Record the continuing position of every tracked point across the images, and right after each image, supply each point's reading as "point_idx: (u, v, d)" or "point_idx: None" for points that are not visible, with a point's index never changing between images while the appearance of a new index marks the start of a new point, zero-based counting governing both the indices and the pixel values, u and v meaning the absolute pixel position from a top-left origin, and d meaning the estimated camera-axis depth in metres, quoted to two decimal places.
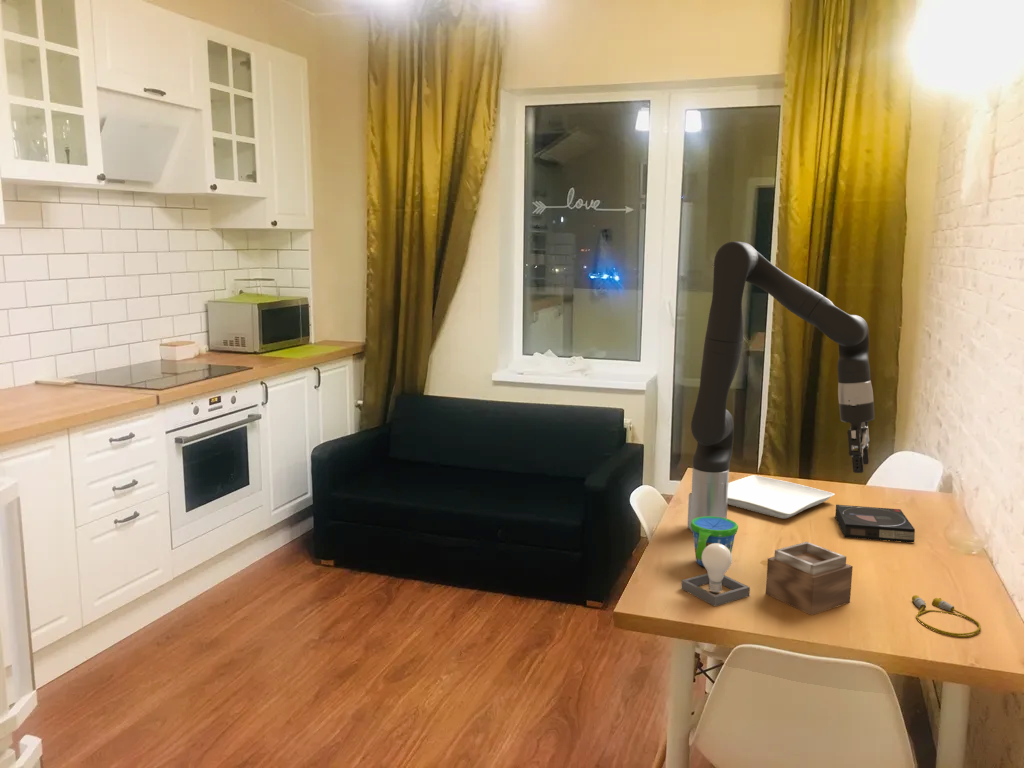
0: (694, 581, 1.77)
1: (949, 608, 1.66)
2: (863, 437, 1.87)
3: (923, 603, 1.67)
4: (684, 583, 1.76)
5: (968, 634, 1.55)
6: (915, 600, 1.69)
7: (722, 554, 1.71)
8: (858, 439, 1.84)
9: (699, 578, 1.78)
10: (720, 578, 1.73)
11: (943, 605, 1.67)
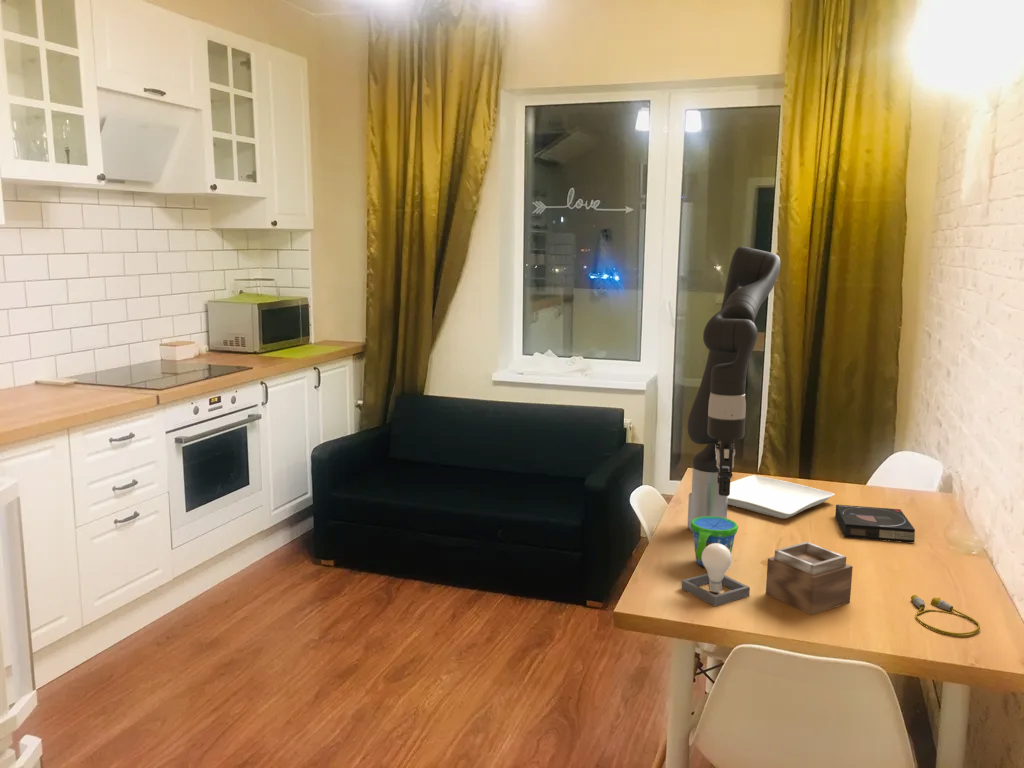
0: (694, 581, 1.77)
1: (948, 608, 1.66)
2: None
3: (922, 603, 1.67)
4: (684, 583, 1.76)
5: None
6: (914, 600, 1.69)
7: (722, 554, 1.71)
8: None
9: (699, 578, 1.78)
10: (720, 578, 1.73)
11: (942, 605, 1.67)
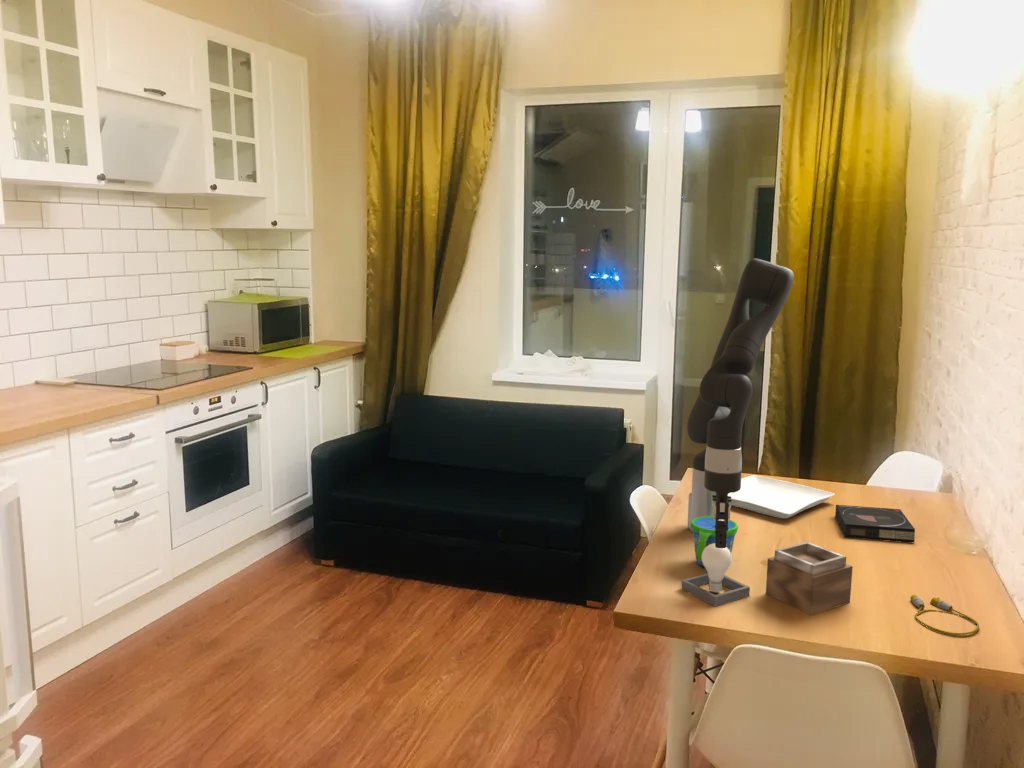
0: (694, 581, 1.77)
1: (947, 608, 1.66)
2: None
3: (922, 603, 1.67)
4: (684, 583, 1.76)
5: None
6: (913, 600, 1.69)
7: (722, 554, 1.71)
8: None
9: (699, 578, 1.78)
10: (720, 578, 1.73)
11: (941, 605, 1.67)
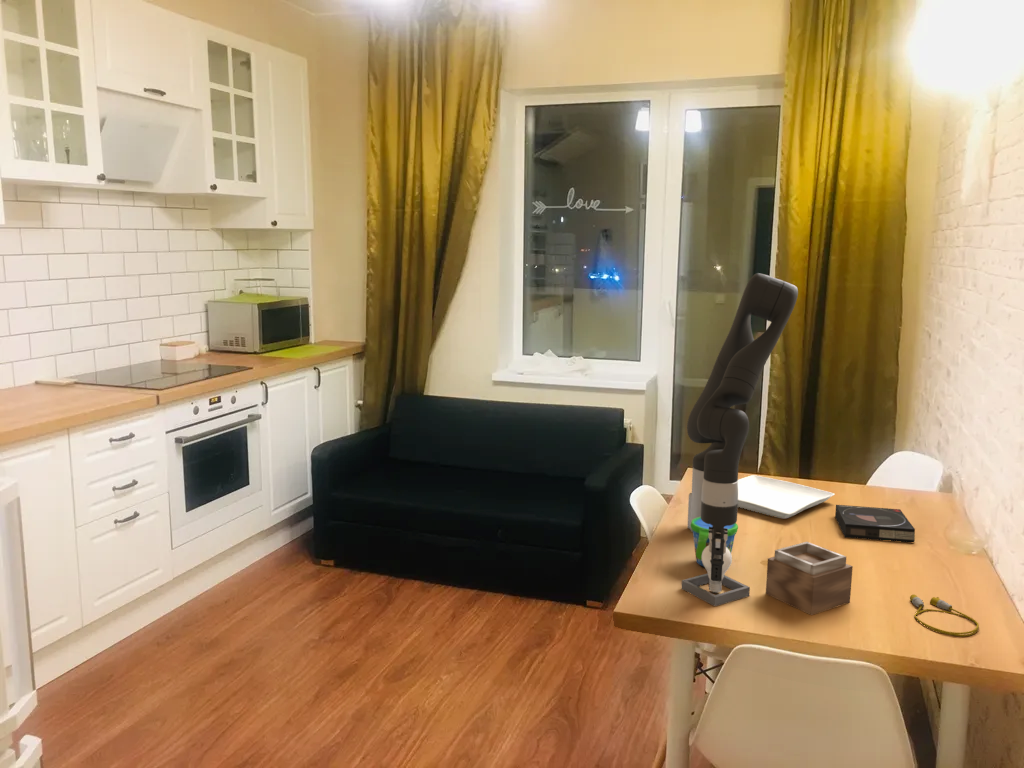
0: (694, 581, 1.77)
1: (947, 607, 1.66)
2: None
3: (921, 602, 1.67)
4: (684, 583, 1.76)
5: (966, 633, 1.56)
6: (913, 599, 1.69)
7: None
8: None
9: (699, 578, 1.78)
10: None
11: (941, 604, 1.67)
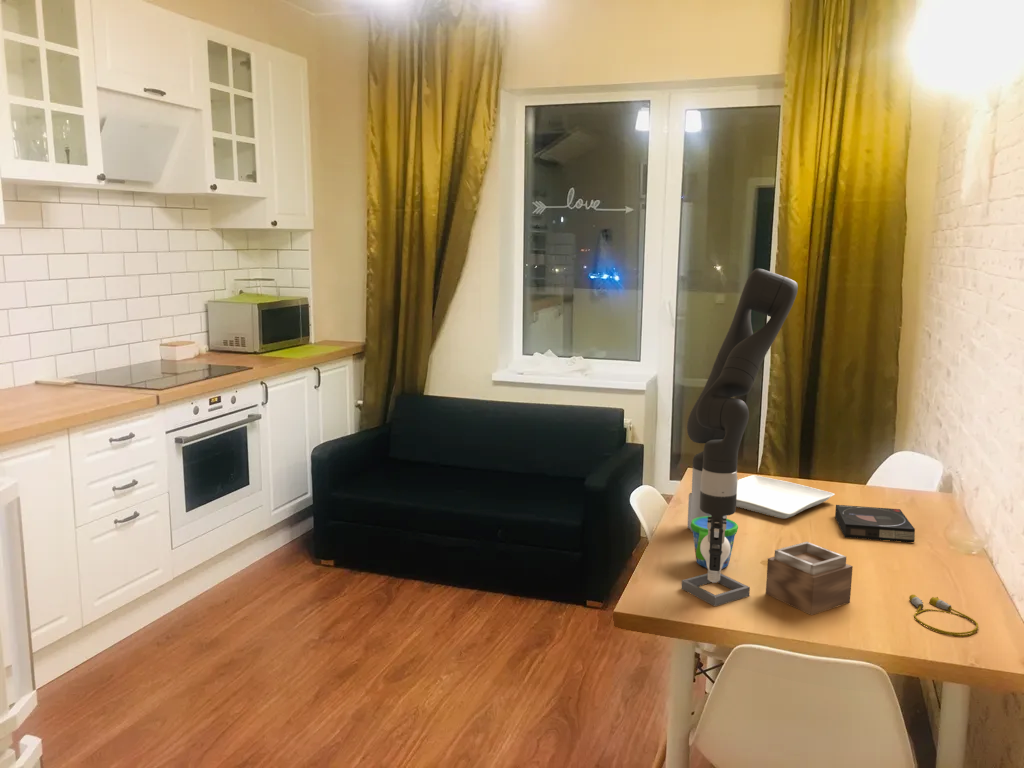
0: (694, 581, 1.77)
1: (946, 607, 1.66)
2: None
3: (920, 602, 1.67)
4: (684, 583, 1.76)
5: (966, 633, 1.56)
6: (912, 599, 1.69)
7: None
8: None
9: (699, 578, 1.78)
10: None
11: (940, 604, 1.68)
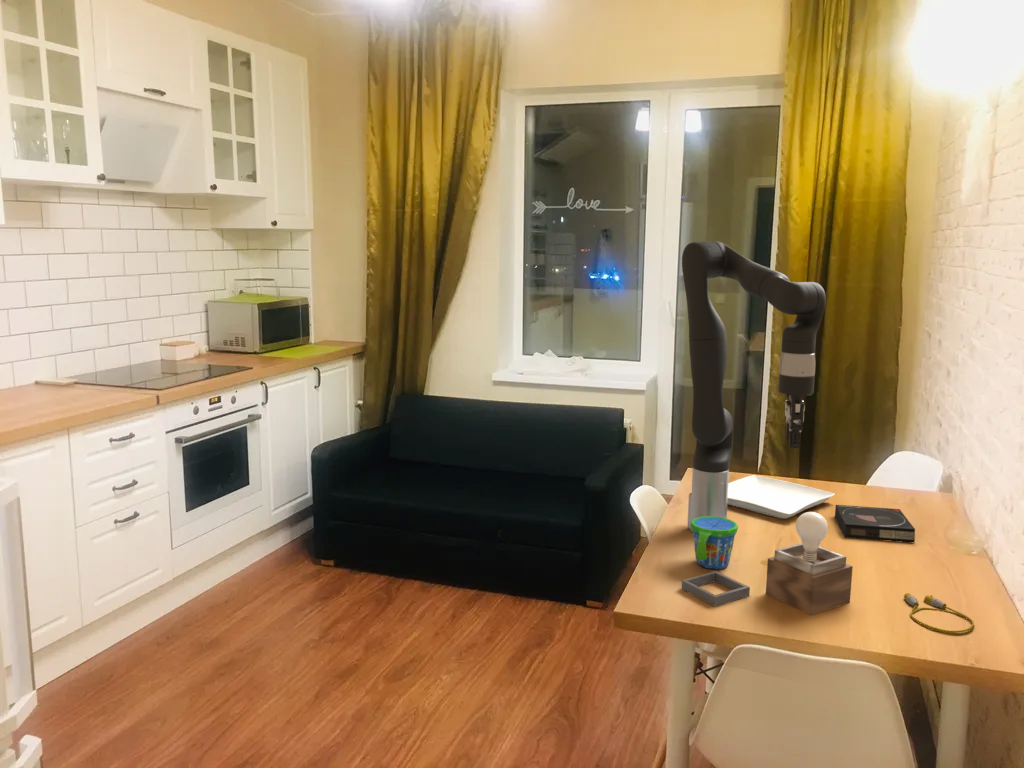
0: (694, 581, 1.77)
1: (941, 605, 1.67)
2: None
3: (916, 601, 1.68)
4: (684, 583, 1.76)
5: (963, 631, 1.56)
6: (907, 598, 1.70)
7: (819, 522, 1.67)
8: None
9: (699, 578, 1.78)
10: (816, 547, 1.69)
11: (935, 602, 1.68)
